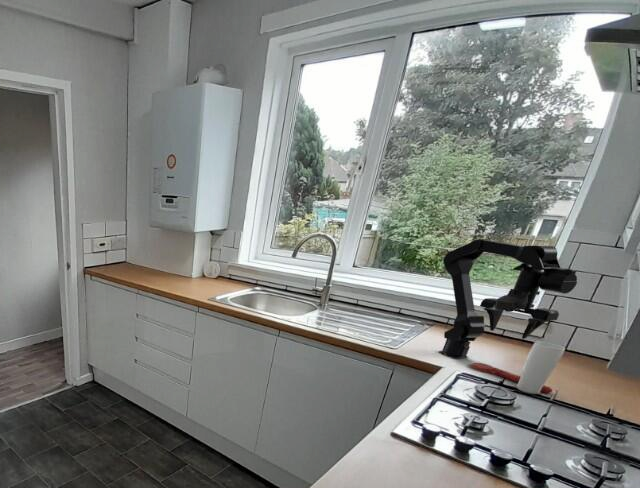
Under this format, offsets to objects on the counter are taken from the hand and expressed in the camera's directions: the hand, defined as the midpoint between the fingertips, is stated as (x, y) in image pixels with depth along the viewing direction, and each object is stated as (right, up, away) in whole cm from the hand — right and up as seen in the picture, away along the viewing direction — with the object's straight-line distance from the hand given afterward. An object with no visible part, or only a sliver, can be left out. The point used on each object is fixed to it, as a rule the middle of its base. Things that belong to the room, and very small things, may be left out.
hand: (507, 334), depth 134 cm
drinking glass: (-3, -18, -9) cm, 21 cm away
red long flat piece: (-1, -15, -1) cm, 15 cm away
